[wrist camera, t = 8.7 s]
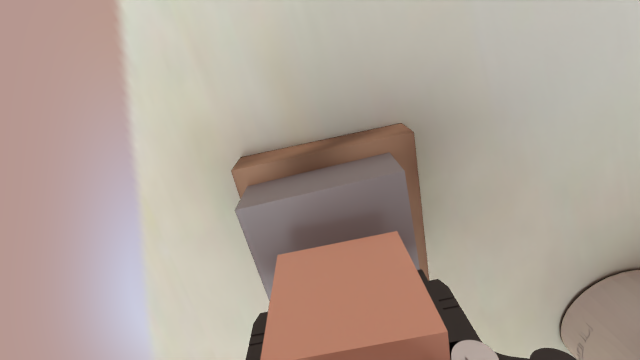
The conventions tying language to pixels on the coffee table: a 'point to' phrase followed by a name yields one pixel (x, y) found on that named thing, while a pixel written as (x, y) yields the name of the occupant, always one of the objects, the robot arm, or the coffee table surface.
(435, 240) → the coffee table surface
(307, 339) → the terracotta cube
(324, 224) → the slate top block
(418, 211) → the walnut base slab
